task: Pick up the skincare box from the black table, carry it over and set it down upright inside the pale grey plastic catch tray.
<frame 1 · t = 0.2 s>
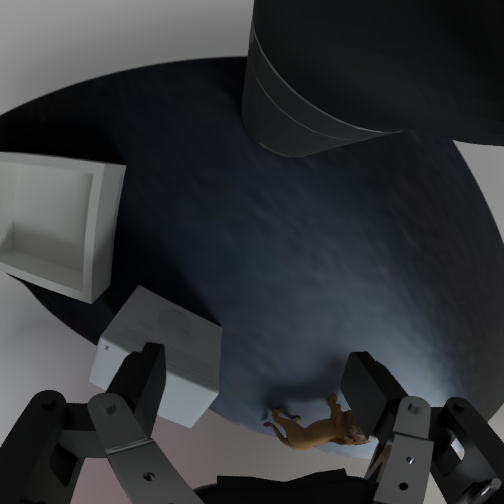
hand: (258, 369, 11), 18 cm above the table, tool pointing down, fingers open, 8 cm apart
lion figurine: (315, 404, 35), on the table
catch tray: (57, 214, 26), on the table
skincare box: (170, 327, 30), on the table
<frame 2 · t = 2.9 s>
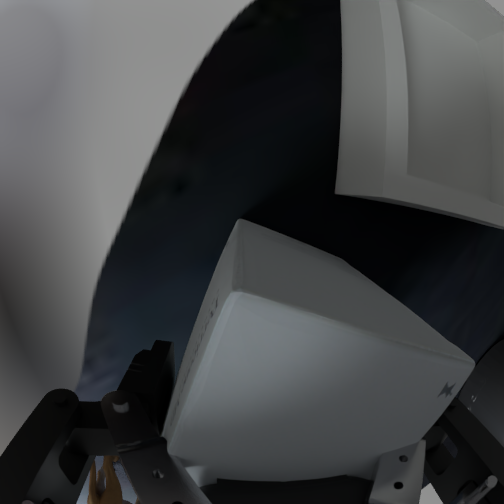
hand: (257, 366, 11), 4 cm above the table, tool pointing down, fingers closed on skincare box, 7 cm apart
lion figurine: (140, 482, 19), on the table
catch tray: (432, 90, 13), on the table
skincare box: (252, 323, 15), on the table, touching gripper
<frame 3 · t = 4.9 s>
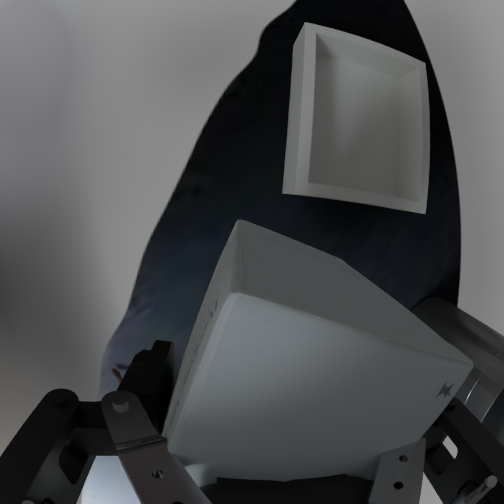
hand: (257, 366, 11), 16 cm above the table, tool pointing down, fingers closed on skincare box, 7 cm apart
catch tray: (351, 124, 25), on the table
skincare box: (252, 324, 15), point 12 cm above the table, touching gripper
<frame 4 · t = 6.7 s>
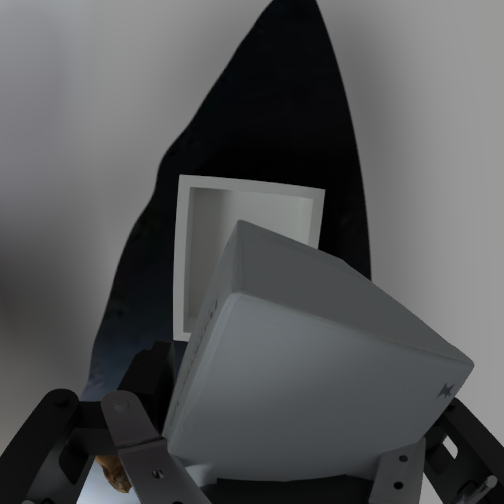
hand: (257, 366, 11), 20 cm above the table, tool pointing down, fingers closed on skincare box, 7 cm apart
lion figurine: (114, 438, 36), on the table
catch tray: (243, 257, 31), on the table
skincare box: (252, 324, 15), point 16 cm above the table, touching gripper
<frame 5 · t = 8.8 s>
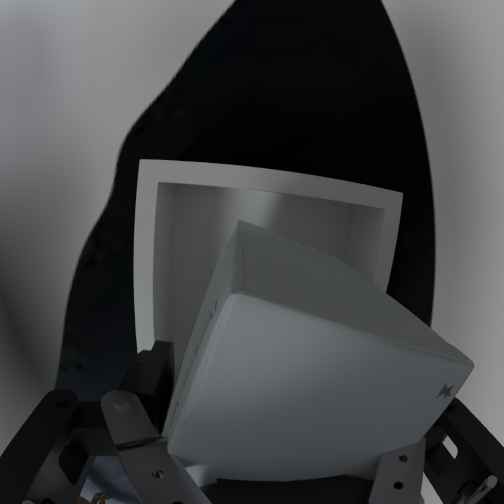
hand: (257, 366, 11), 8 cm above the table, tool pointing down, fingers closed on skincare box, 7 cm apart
lion figurine: (93, 486, 24), on the table
catch tray: (254, 298, 19), on the table
skincare box: (252, 324, 15), point 3 cm above the table, touching gripper
when the fingers open (6 cm above the table, at t = 10.2 s): skincare box drops 1 cm, resting on catch tray.
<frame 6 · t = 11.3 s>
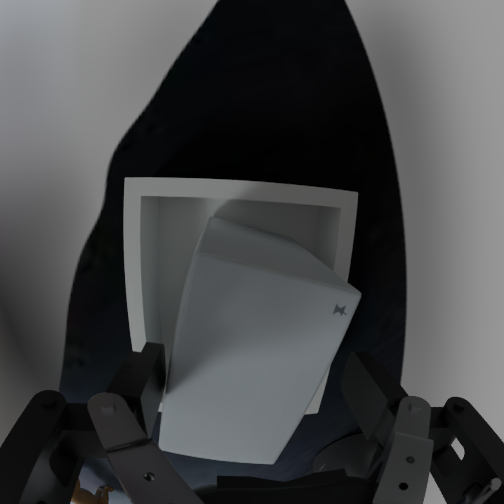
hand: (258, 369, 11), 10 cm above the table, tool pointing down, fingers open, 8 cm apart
lion figurine: (96, 478, 27), on the table
catch tray: (233, 292, 21), on the table
skincare box: (230, 295, 20), point 1 cm above the table, touching catch tray
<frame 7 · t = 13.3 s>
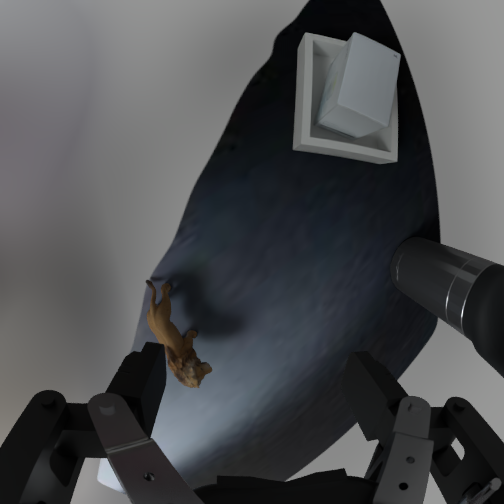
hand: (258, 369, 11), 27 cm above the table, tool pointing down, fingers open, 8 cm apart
lion figurine: (180, 321, 40), on the table
catch tray: (340, 103, 34), on the table
skincare box: (340, 101, 33), point 1 cm above the table, touching catch tray
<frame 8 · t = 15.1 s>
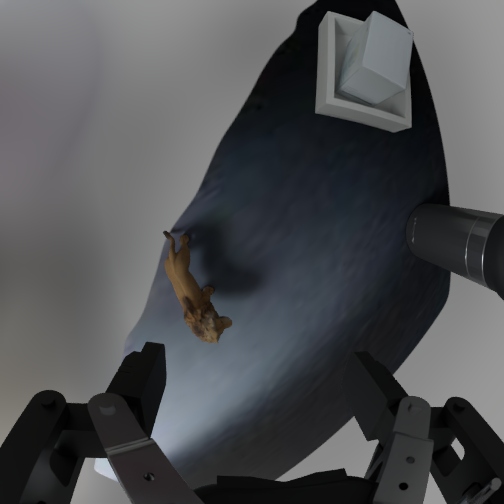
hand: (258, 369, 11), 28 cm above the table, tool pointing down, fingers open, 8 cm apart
lion figurine: (196, 276, 39), on the table
catch tray: (357, 75, 34), on the table
skincare box: (358, 74, 34), point 1 cm above the table, touching catch tray
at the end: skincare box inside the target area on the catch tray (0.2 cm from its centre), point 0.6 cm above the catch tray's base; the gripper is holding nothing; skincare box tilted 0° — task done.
